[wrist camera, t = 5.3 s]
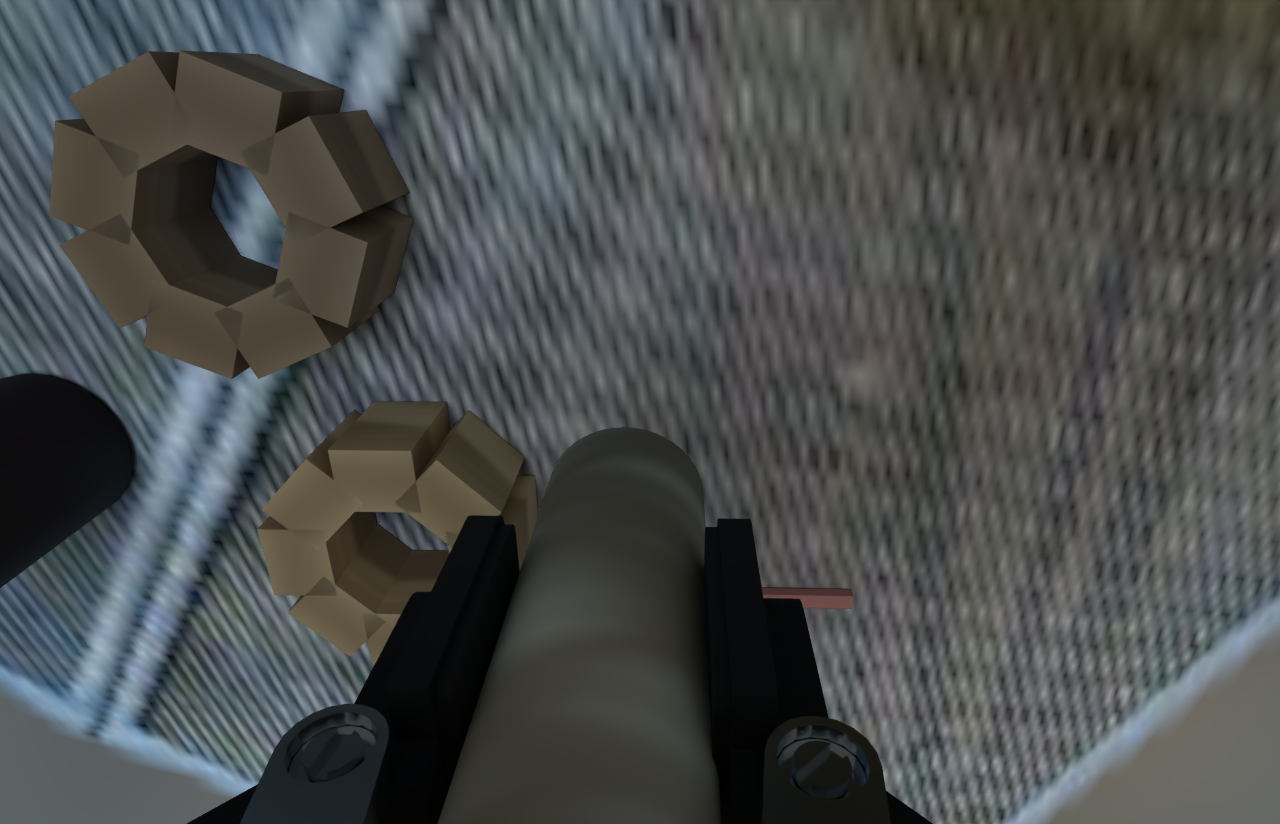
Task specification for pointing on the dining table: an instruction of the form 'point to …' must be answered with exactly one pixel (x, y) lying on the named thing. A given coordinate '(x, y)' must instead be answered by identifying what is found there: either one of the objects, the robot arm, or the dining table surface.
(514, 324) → the dining table surface
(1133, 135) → the dining table surface
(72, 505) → the bottle
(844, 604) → the reddish brown square stick
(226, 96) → the bead
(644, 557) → the dowel
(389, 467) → the bead
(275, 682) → the dining table surface
